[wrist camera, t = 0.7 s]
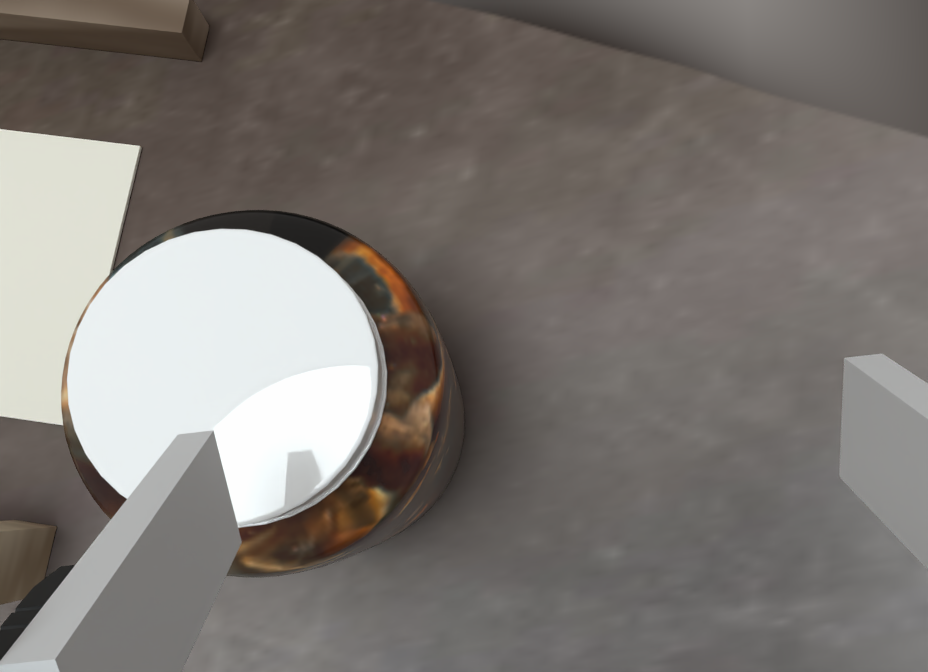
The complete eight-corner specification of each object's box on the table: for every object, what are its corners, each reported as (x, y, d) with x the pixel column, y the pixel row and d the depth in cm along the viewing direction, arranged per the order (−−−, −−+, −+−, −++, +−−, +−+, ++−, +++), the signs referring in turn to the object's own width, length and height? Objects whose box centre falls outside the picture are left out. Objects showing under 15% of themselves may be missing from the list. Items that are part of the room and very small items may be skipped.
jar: (408, 259, 36) (350, 105, 22) (503, 491, 34) (509, 494, 19) (176, 353, 36) (-44, 260, 21) (256, 593, 34) (72, 676, 19)
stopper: (201, 61, 39) (181, 32, 36) (-131, 24, 40) (-171, -7, 38) (209, 26, 39) (190, -5, 37) (-120, -10, 40) (-160, -42, 38)
